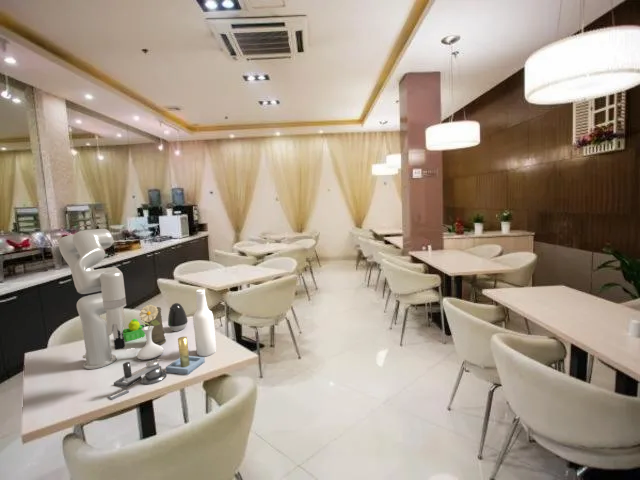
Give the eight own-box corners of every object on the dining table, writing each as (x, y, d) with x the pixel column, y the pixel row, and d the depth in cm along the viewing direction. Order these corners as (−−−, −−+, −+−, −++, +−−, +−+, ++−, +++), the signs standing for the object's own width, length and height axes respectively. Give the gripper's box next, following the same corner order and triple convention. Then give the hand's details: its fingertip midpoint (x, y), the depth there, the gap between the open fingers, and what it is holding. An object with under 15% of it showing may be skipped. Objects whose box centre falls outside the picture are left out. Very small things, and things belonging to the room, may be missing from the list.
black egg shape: (164, 332, 189) (161, 306, 187) (175, 326, 199) (172, 300, 197) (181, 333, 187) (178, 306, 185) (191, 326, 197) (188, 300, 196)
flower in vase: (131, 360, 156) (124, 307, 153) (151, 349, 167) (145, 300, 164) (153, 363, 152) (146, 309, 149) (172, 352, 162) (166, 301, 159)
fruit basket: (143, 333, 191) (141, 313, 190) (148, 337, 184) (146, 316, 183) (120, 339, 183) (118, 319, 182) (125, 344, 177) (122, 322, 175)
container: (169, 341, 176) (165, 307, 174) (152, 348, 168) (148, 313, 166) (159, 338, 181) (155, 305, 179) (142, 345, 173) (138, 311, 171)
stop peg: (178, 366, 145) (175, 339, 144) (184, 362, 149) (181, 336, 147) (185, 367, 144) (182, 340, 143) (191, 363, 147) (188, 336, 146)
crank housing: (114, 385, 135) (112, 375, 134) (138, 370, 146) (137, 361, 146) (148, 389, 129) (147, 379, 129) (171, 374, 141) (170, 364, 140)
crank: (154, 365, 140) (152, 349, 140) (161, 367, 138) (159, 351, 138) (122, 380, 129) (119, 363, 128) (128, 383, 127) (126, 366, 126)
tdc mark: (125, 389, 131) (124, 388, 131) (128, 392, 129) (128, 390, 129) (107, 397, 126) (107, 396, 126) (111, 400, 124) (111, 398, 124)
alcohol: (193, 354, 159) (186, 291, 155) (209, 347, 166) (203, 286, 162) (204, 358, 153) (197, 293, 150) (220, 351, 160) (214, 288, 157)
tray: (166, 372, 143) (165, 367, 143) (183, 360, 153) (183, 355, 153) (188, 374, 140) (187, 369, 139) (204, 362, 150) (204, 357, 150)
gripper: (107, 299, 136) (112, 342, 139) (99, 310, 123) (105, 358, 125) (128, 296, 139) (133, 339, 142) (123, 307, 126) (128, 354, 128)
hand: (120, 348), depth 134 cm, fingers closed
